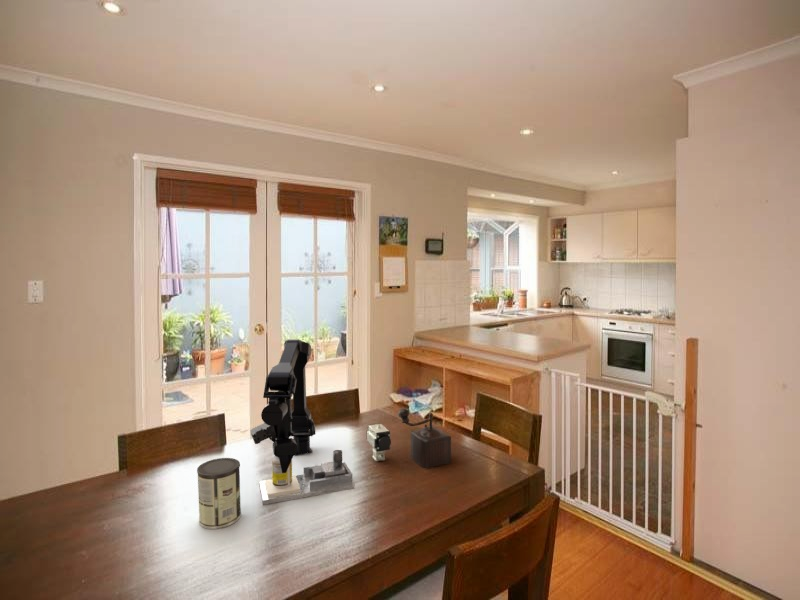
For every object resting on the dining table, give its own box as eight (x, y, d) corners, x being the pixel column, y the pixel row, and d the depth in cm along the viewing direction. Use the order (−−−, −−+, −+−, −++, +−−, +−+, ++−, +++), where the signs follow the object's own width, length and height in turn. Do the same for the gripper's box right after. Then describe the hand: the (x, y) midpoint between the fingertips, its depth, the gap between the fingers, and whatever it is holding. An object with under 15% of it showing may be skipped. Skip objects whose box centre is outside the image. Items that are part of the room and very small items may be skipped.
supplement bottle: (284, 478, 138) (284, 444, 137) (295, 483, 134) (295, 449, 133) (268, 484, 133) (268, 450, 133) (279, 490, 130) (279, 455, 129)
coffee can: (217, 505, 126) (216, 455, 125) (249, 511, 123) (248, 460, 121) (189, 524, 116) (187, 471, 115) (222, 532, 113) (221, 477, 112)
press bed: (265, 482, 136) (265, 480, 136) (295, 477, 140) (295, 475, 140) (268, 496, 128) (267, 494, 128) (300, 491, 131) (300, 488, 131)
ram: (311, 476, 140) (310, 451, 140) (339, 471, 143) (339, 446, 143) (315, 485, 134) (315, 459, 133) (345, 480, 137) (345, 455, 137)
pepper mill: (434, 451, 163) (435, 401, 162) (451, 463, 153) (452, 410, 152) (395, 459, 156) (395, 407, 155) (410, 472, 146) (411, 417, 145)
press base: (259, 485, 137) (259, 473, 137) (344, 471, 147) (343, 460, 146) (262, 504, 126) (262, 491, 126) (354, 488, 136) (354, 476, 135)
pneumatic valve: (379, 451, 163) (379, 418, 162) (391, 464, 152) (391, 429, 151) (364, 454, 160) (364, 420, 160) (375, 467, 150) (375, 431, 149)
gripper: (250, 407, 138) (250, 457, 139) (254, 427, 121) (255, 485, 122) (287, 403, 142) (288, 452, 143) (297, 422, 125) (297, 478, 126)
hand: (282, 466), depth 133 cm, fingers open, 9 cm apart
